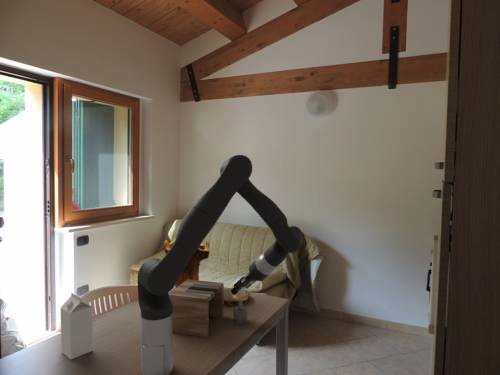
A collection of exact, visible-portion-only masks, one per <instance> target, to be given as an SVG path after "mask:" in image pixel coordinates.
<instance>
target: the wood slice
mask: <svg viewBox="0 0 500 375" xmlns="http://www.w3.org/2000/svg"><path fill="white" fill-rule="evenodd" d="M233 288H234V287H228V288H227V287H226V288H224V306H225V307H238V301H236V300H234V299H233V294H232V292H231V290H232V289H233ZM245 294H247V295H248V299H247V300H244V301H242V306H244V305H246V304H249V302H250V300H251V295H250V291H248V290H247V289H245Z"/></svg>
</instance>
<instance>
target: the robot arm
mask: <svg viewBox="0 0 500 375" xmlns="http://www.w3.org/2000/svg"><path fill="white" fill-rule="evenodd" d="M252 163H253V162H252V160H251V159H250V158H249V157H248V156H247V155H243V154H235V155H232V156H231V157H229V158H227V159H226V160H225V161H224V162H222V164H221V165H220V168H219V172H220V173H219V174H220V175H219V177H218V178H217V179H216V181H215V182H214V183H213V185H211V186H210V188H208V189H207V190H206V191H205V192H204V193H203V194H202V195H201V196H200V197H199V198H198V199H197V200H196V201H195V203H194V204H192V206H191V207H190V209H189V210H188V211H187V212H186V214H185V215H184V216H183V218H182V219H181V222H180V224H179V227H178V229H177V233H176V235H175V238H176V239H175V238H174V239H175V241H174V244H173V245H172V247H171V248H170V250H169V251H168V252H167V254H164V256H163V257H162V259H160V258H156V257H154V258H149V259H146V260H145V261H144V262H143V263H142V264H141V265H140V267H139V269H138V273H137V300H138V305H139V306H138V307H139V309H140V350H141V351H140V357H141V358H140V363H141V364H140V365H141V366H140V367H141V369H140V370H141V371H140V373H141V375H170V374H171V373H172V372H173V370H174V332H173V304H172V301H171V299H170V297H169V294H168V293H169V292H171V291H172V290H173V289H174V288H175V287H176V286H175V284H176V283H177V281H178V280H179V278H180V276H181V274H182V272H183V271H184V269H185V267H186V265H187V264H188V262H189V260H190V259H191V257H192V256H193V254H194V253H195V252H196V250H197V249H198V247H199V246H200V244H203V243H202V242H203V241H204V240H205V238H206V237H207V236H208V235H209V233H210V232H211V231H212V229H213V228H214V226H215V225H216V224H217V222H218V220H219V219H220V217H221V216H222V215H223V212H224V211H225V210H226V208H227V206H228V205H229V203H230V202H231V200H232V199H233V197H234V196H235V194H236V193H237V194H238V195H239V196H240V197H242V199H244V200H245V202H246V203H247V204H249V205H250V208H252V209H253V210H254V211H255V213H256V214H257V215H258V216H259V217H260V218H261V220H262V221H263V222H264V224H265V225H267V227H268V228H269V229H270V230H271V232H272V234H273V236H274V238H275V241H274V242H273V243H272V244H271V245H270V246H269V247H268V248H267V249H266V250H265V251H264V252H262V253H261V254H260V255H259V256H258V257H257V258H256V259H255V260H254V261H253V262H252V263H251V264H250V265H249V267H248V271H249V272H247V273H246V274H245V275H244V276H241V277H240V278H239V279H238V281H237V280H236V281H237V282H236V283H235V282H234V284H233V287H232V288H233V289H232V290H231V292H232V294H233V295H235V294H236V293H237V292H238V291H239V290H241V289H242V288H243V287H245V290H247V289H249V288H250V287H251V286H252V285H254V284H256V283H257V282H263V281H264V280H265V279H267V278H268V277H269V276H270V275H271V274H272V273H273V272H274V271H275V270H276V269H277V268H278V267H279V265H281V264H282V263H283V262H284V261H285V260H286V259H287V256H288V254H295V253H297V252H299V250H300V248H301V245H302V242H303V237H304V236H303V232H302V229H300V228H299V227H298V226H294V225H292V226H289V224H288V218H287V216H286V214H285V213H284V212H283V211H282V209H281V208H280V207H279V205H278V204H276V203H275V202H274V201H273V199H271V198H270V197H269V196H267V195H266V194H265V193H263V192H262V191H261V190H260V189H258V188H257V187H256V186H255V185H254V184H253V182H252V181H251V180H250V177H251V176H252V173H253V164H252Z"/></svg>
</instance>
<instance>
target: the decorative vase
mask: <svg viewBox="0 0 500 375" xmlns="http://www.w3.org/2000/svg"><path fill="white" fill-rule="evenodd" d="M175 239H176V237H175V238H173V240H172V241H171V242H169V240H167V239H166V240H164V243H163V246H164V248H163V251H164V252H165V254H164V255H166V254H167V252H168V251H169V250H170V248H171V247H172V245H173V244H174V241H175ZM210 253H211V252H210V240H206V242H205V243H204V244H203V243H201V244H200V246H199V247H198V249H197V250H196V252H195V253H194V254H193V256H192V257H191V259H190V260H189V262H188V264H187V265H186V267H185V269H184V271H183V272H182V274H181V276H180V278H179V280H178V281H177V283H176V284H175V286H174V287H175V288H176V287H178V286H179V285H180V284H182V283H183V282H185V281H186V280H187V279H188V280H199V281H200V279H199V277H200V266H201V262H202V261H203V260H207V259H208V258H209V256H210Z"/></svg>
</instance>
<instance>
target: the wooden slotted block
mask: <svg viewBox="0 0 500 375" xmlns="http://www.w3.org/2000/svg"><path fill="white" fill-rule="evenodd" d="M224 289H225V288H224V282H220V281H219V282H217V281H207V280H200V279H199V280H188V279H187V280H186V281H185V282H183V283H182V284H180V285H179V286H178V287H176V286H175V287H174V288H173V289H171V291H169V292H168V294H169V297H170V299H171V301H172V304H173V334H174V333H176V334H183V335H188V336H196V337H203V338H207V337H209V335H210V334H209V333H210V332H209V326H210V325H209V323H210V322H209V317H211V318H219V319H220V318H221V319H223V318H224Z"/></svg>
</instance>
